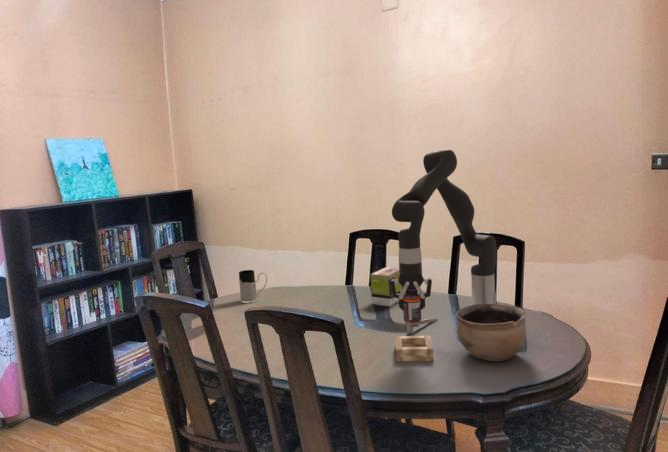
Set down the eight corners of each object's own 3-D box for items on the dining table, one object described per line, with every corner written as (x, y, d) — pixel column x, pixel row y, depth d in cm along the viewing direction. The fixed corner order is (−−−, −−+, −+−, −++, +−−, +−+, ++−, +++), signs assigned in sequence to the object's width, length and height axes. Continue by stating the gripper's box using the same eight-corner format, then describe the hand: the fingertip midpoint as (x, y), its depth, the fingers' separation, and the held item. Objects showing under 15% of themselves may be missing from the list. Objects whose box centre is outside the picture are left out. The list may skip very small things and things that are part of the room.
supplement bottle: (402, 318, 167) (400, 286, 166) (418, 317, 168) (417, 285, 166) (405, 324, 161) (404, 291, 160) (423, 322, 162) (422, 289, 160)
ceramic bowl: (518, 375, 145) (517, 327, 143) (447, 363, 157) (446, 318, 155) (532, 348, 164) (531, 306, 162) (468, 339, 175) (467, 299, 173)
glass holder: (240, 299, 247) (238, 270, 245) (268, 296, 248) (266, 268, 246) (239, 304, 238) (236, 274, 236) (268, 301, 240) (266, 272, 237)
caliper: (409, 335, 183) (408, 319, 183) (406, 335, 184) (406, 319, 183) (437, 320, 198) (437, 305, 197) (435, 320, 199) (435, 305, 198)
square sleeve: (430, 346, 171) (429, 335, 171) (433, 360, 159) (433, 348, 159) (395, 347, 172) (395, 336, 172) (396, 361, 161) (396, 349, 160)
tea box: (387, 295, 237) (386, 266, 235) (405, 298, 231) (404, 267, 229) (371, 304, 225) (369, 273, 223) (390, 307, 219) (388, 275, 217)
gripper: (430, 257, 164) (432, 305, 167) (388, 258, 166) (390, 306, 168) (433, 262, 157) (434, 312, 159) (388, 263, 159) (390, 313, 161)
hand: (412, 308), depth 164 cm, fingers closed on supplement bottle, 6 cm apart
